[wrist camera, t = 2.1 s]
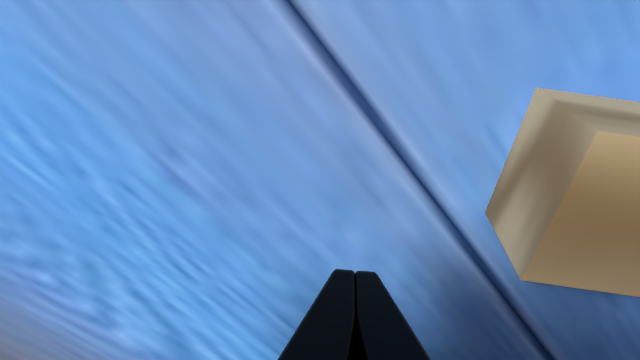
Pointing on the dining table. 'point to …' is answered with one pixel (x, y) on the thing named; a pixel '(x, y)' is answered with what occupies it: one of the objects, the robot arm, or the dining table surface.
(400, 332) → the robot arm
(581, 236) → the maple bracket block
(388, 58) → the dining table surface
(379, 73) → the dining table surface
